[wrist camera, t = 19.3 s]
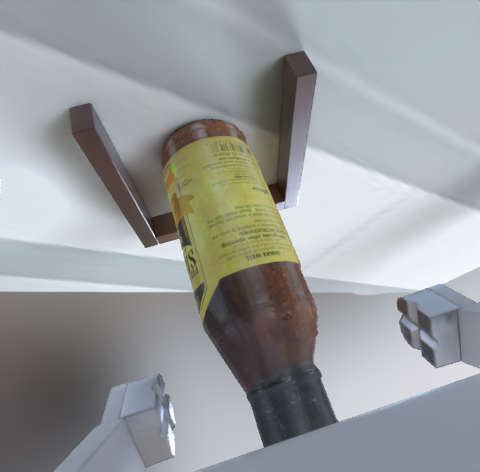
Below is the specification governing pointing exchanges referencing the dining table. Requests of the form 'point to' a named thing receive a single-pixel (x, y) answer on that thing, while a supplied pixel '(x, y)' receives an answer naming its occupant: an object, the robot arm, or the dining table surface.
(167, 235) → the bottle bay
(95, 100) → the dining table surface
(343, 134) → the dining table surface
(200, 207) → the sauce bottle
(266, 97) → the dining table surface
